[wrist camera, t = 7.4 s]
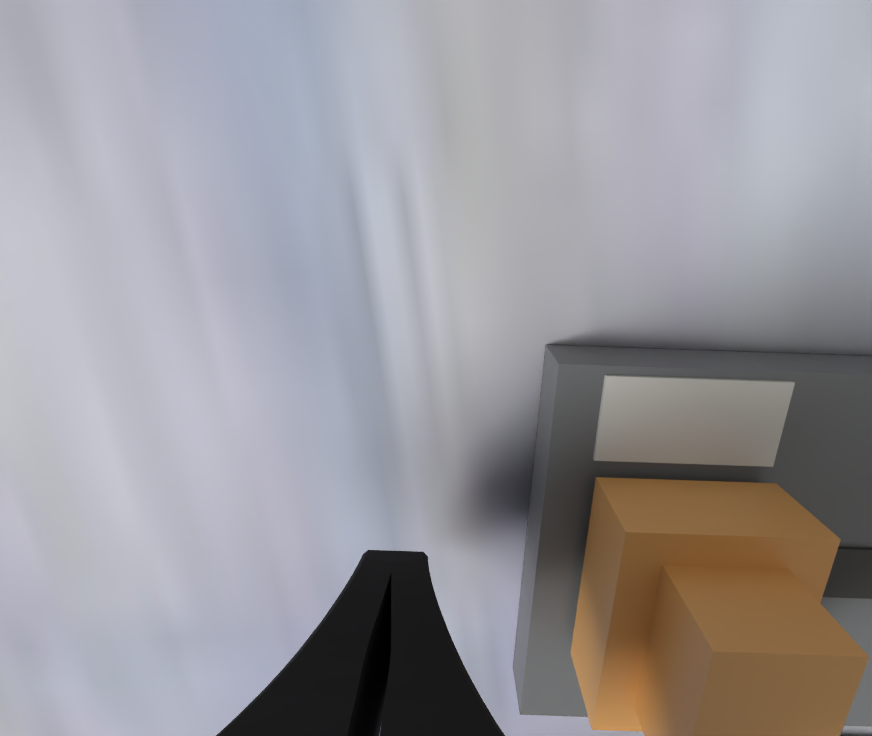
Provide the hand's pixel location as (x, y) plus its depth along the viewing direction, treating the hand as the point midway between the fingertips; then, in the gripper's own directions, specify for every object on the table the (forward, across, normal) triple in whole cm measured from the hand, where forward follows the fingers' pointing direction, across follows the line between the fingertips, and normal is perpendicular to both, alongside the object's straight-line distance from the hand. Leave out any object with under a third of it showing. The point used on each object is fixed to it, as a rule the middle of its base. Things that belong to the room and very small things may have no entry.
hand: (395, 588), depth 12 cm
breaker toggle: (+1, -6, 0) cm, 6 cm away
